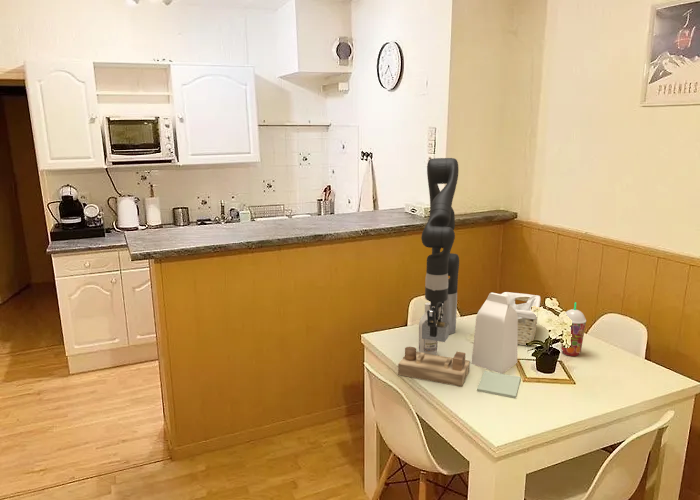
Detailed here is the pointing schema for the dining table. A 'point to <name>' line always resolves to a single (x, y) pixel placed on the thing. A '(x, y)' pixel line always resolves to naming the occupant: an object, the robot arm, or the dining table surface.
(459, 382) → the wooden peg board
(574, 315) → the smoothie
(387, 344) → the dining table surface
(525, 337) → the storage basket
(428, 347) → the bath foam
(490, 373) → the mat
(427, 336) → the lever cap
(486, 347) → the milk
